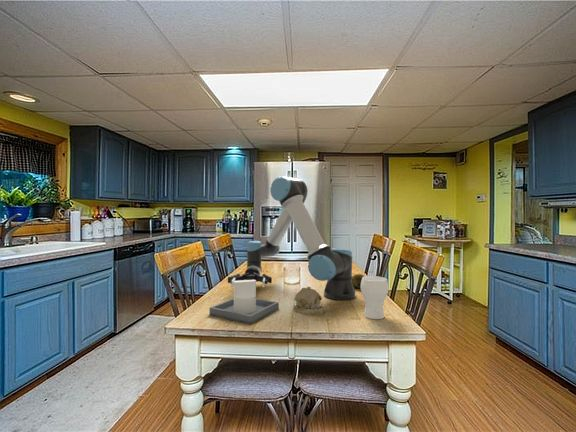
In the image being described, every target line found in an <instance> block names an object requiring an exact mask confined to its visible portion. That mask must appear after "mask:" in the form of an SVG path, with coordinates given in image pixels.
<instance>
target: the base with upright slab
mask: <svg viewBox="0 0 576 432" xmlns="http://www.w3.org/2000/svg"><path fill="white" fill-rule="evenodd" d="M256 298H257V282H256V280H240V281H234V287H233V299H234V312H238V313H243V314H248V313H253V312H255V311H256Z"/></svg>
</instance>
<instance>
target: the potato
mask: <svg viewBox="0 0 576 432" xmlns="http://www.w3.org/2000/svg"><path fill="white" fill-rule="evenodd" d="M363 277H365V275H363V274H360V273H356V274H354V275H352V283H353V286H354V288H358V289H359V288H360V289H361V281H362V278H363Z"/></svg>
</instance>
